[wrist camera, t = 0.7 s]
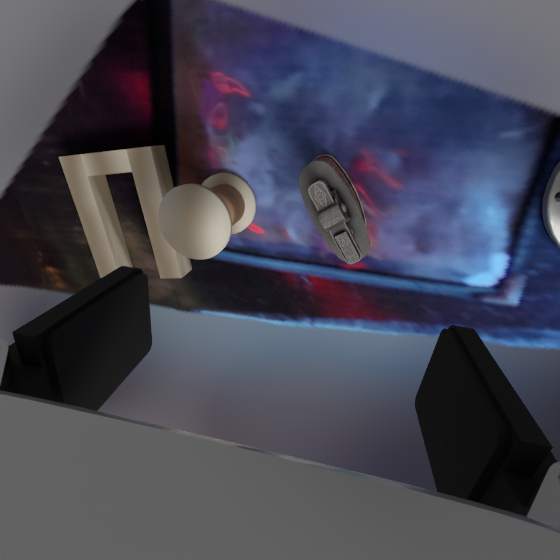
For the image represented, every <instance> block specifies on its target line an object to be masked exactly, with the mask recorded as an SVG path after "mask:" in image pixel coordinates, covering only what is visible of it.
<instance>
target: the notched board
mask: <svg viewBox="0 0 560 560" xmlns="http://www.w3.org/2000/svg"><path fill="white" fill-rule="evenodd" d="M59 159H60V162H61V165H62V168H63V171H64V174H65V177H66V180H67V182H68V185H69V188H70V191H71V194H72V197H73V200H74V203H75V205H76V208H77V211H78V214H79V217H80V220H81V223H82V226H83V228H84V231H85V234H86V237H87V240H88V243H89V246H90V249H91V252H92V254H93V257H94V260H95V263H96V266H97V269H98V272H99V275H100V277H101V278H102V277H104V276H106V275H107V274H109V273H111V272H112V271H114V270H115V269H117V268H119V267H121V266H128V267H133V266H132V263H131V260H130V256H129V253H128V250H127V246H126V243H125V240H124V236H123V233H122V230H121V226H120V223H119V220H118V216H117V213H116V210H115V206H114V203H113V200H112V196H111V193H110V190H109V186H108V183H107V180H106V176H105V174H115V173H125V172H132V173H133V177H134V181H135V184H136V188H137V192H138V196H139V199H140V203H141V207H142V211H143V214H144V218H145V222H146V225H147V229H148V233H149V237H150V240H151V244H152V248H153V252H154V255H155V259H156V263H157V266H158V270H159V274H160V278H182V277H183V276H185V275H186V274H187V273H188V272H189V271H190V270H192V267H191V262H190V258H188V257H186V256H183V255H182V254H180V253H178V252H177V251H176V250H174V249H173V248H172V247H171V246H170V245H169V244H168V242H167V241H166V239H165V238H164V236H163V234H162V232H161V229H160V226H159V221H158V211H159V206H160V203H161V201H162V199H163V198H164V196H165V195H166V194H167V193H168V192H169V191H170V190H172V189H173V188H174V186H173V182H172V177H171V173H170V169H169V164H168V160H167V155H166V151H165V146H164V145H161V146H149V147H140V148H132V149H123V150H114V151H105V152H97V153H88V154H79V155H71V156H62V157H59Z"/></svg>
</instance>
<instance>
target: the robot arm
mask: <svg viewBox="0 0 560 560" xmlns="http://www.w3.org/2000/svg"><path fill="white" fill-rule="evenodd" d="M556 193H558V195H557V196H556V197H555V195H556ZM542 215H543V220H544V226H545V228H546V230H547V232H548V234H549V236H550V238H551V239H552V240H553V241H554V243H555V244H556V245H557V246H558V247H559V248H560V161H559V162H558V164H557V165H556V167H555V168H554V170H553V172H552V174H551V176H550V178H549V180H548V182H547V185H546V189H545V193H544V196H543V205H542ZM13 336H14V339H15V343H13V344H12V345H10V346H8V344H7V343H6V342H5V341H4V340H1V339H0V560H560V462H557V460H556V459H555V458H554V456H553V454H552V453H551V451H550V450H551V449H552V448H553V447H552V446H551V444H550V443H549V441H548V440H547V438H546V437H545V435H544V434H543V432H542V431H541V429H540V428H539V426H538V425H537V423H536V422H535V420H534V419H533V417H532V416H531V414H530V413H529V411H528V410H527V408H526V407H525V405H524V404H523V402H522V401H521V399H520V397H519V396H518V394H517V393H516V392H515V390H514V388H513V387H512V386H511V384H510V383H509V381H508V379H507V378H506V376H505V375H504V373H503V372H502V370H501V369H500V368H499V366H498V364H497V363H496V361H495V360H494V358H493V357H492V355H491V354H490V352H489V351H488V349H487V348H486V346H485V345H484V343H483V342H482V340H481V339H480V337H479V336H478V334H477V333H476V331H475V330H474V329H471V328H465V327H460V326H454V325H452V326H450V327H449V328H448V329H443V330H442V331H441V333H440V336H439V338H438V341H437V344H436V346H435V349H434V351H433V354H432V356H431V359H430V362H429V364H428V367H427V369H426V372H425V375H424V377H423V380H422V382H421V385H420V388H419V390H418V393H417V395H416V399H415V408H416V412H417V416H418V420H419V424H420V427H421V431H422V435H423V439H424V443H425V447H426V450H427V454H428V458H429V462H430V465H431V469H432V473H433V477H434V481H435V485H436V488H437V492H435V491H431V490H427V489H423V488H419V487H415V486H412V485H408V484H403V483H400V482H396V481H391V480H387V479H383V478H379V477H375V476H371V475H367V474H362V473H358V472H354V471H350V470H346V469H342V468H338V467H333V466H329V465H325V464H321V463H317V462H313V461H308V460H305V459H300V458H296V457H292V456H288V455H284V454H279V453H275V452H271V451H267V450H263V449H258V448H254V447H250V446H246V445H241V444H237V443H233V442H229V441H224V440H220V439H216V438H212V437H207V436H203V435H198V434H194V433H190V432H186V431H181V430H177V429H173V428H169V427H165V426H160V425H156V424H151V423H147V422H142V421H138V420H134V419H130V418H125V417H121V416H116V415H112V414H108V413H103V412H99V411H97V410H98V409H99V408H100V407H101V406H102V405H103V404H104V402H105V401H106V400H107V399H108V398H109V397H110V395H111V394H112V393H113V392H114V391H115V390H116V389H117V388H118V386H119V385H120V384H121V383H122V382H123V381H124V379H125V378H126V377H127V376H128V375H129V374H130V373H131V372H132V370H133V369H134V368H135V367H136V366H137V365H138V364H139V362H140V361H141V360H142V359H143V358H144V357H145V356H146V355H147V353H148V352H149V350H150V348H151V345H152V334H151V320H150V306H149V292H148V279H147V276H146V275H145V274H143V271H142V270H141V269H139V268H133V267H128V266H121V267H119V268H117V269H115V270H114V271H112V272H111V273H109V274H107V275H106V276H104V277H102V278H101V279H99V280H97V281H96V282H94V283H92V284H91V285H89V286H88V287H86V288H84V289H83V290H81V291H79V292H78V293H76V294H74V295H73V296H71V297H69V298H68V299H66V300H65V301H63V302H61V303H60V304H58V305H56V306H55V307H53V308H51V309H50V310H48V311H47V312H45V313H43V314H42V315H40V316H38V317H37V318H35V319H33V320H32V321H30V322H28V323H27V324H25V325H23V326H22V327H20V328H19V329H17V330H15V331H14V332H13Z"/></svg>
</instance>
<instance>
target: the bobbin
mask: <svg viewBox="0 0 560 560" xmlns="http://www.w3.org/2000/svg"><path fill="white" fill-rule="evenodd" d="M255 213H256V198H255V195H254V192H253V190H252V189H251V187H250V186H249V184H248V183H247V182H246V181H245V180H244V179H242V178H241V177H239V176H237V175H235V174H232V173H218V174H215V175H212V176H210V177H209V178H207V179H206V180H205V181H204V182H203V183H202V185H199V184H184V185H181V186H178V187H175V188H173V189H172V190H170V191H169V192H168V193H167V194H166V195H165V196H164V198H163V199H162V201H161V203H160V206H159V211H158V221H159V226H160V229H161V232H162V234H163V236H164V238H165V239H166V241H167V242H168V244H169V245H170V246H171V247H172V248H173V249H174V250H176V251H177V252H178V253H180V254H182V255H183V256H186V257H188V258H192V259H208V258H211V257H213V256H215V255H217V254H218V253H219V252H220V251H222V250H223V249H224V248H225V246H226V245H227V244H228V242H229V240H230V237H231V234H235V233H238V232H241V231H242V230H244V229H245V228H246V227H248V226H249V224H250V223H251V222H252V220H253V219H254V216H255Z"/></svg>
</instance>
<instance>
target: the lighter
mask: <svg viewBox="0 0 560 560" xmlns="http://www.w3.org/2000/svg"><path fill="white" fill-rule="evenodd" d="M298 183H299V187H300V190H301V193H302V196H303V200H304V203H305V206H306V208H307V210H308V212H309V214H310V216H311V219H312V221H313V223H314V225H315V227H316V228H317V230H318V231H319V233H320V234H321V236H322V237H323V239H324V240H325V242H326V243H327V244H328V246H329V247H330V248H331V249H332V250H333V252H334V253H335V254H336V255H337V256H338V258H340V259H341V260H342V261H345V262H347V263H348V264H353V263H356V262H358V261H359V260H360V259H362V258H364V257H365V256H366V254H367V253H368V251H369V249H370V241H369V237H368V233H367V229H366V218H365V214H364V210H363V206H362V203H361V200H360V198H359V195H358V193H357V190H356V188H355V186H354V184H353V183H352V181H351V179H350V178H349V176H348V174H347V172H346V171H345V170H344V168H343V167H342V166H341V165H340V163H339V162H338V161H337V159H336V158H335V157H334V156H332V155H329V154H322V155H320V156H318V157H316V158H315V159H314V160H313V161H312V162H311V163H309V164H308V165H306V166H305V167H304V168H303V169H302V171H301V172H300V174H299V178H298Z"/></svg>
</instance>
